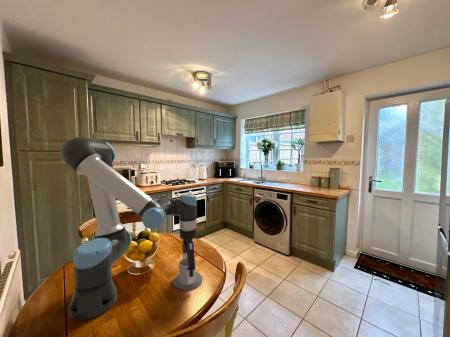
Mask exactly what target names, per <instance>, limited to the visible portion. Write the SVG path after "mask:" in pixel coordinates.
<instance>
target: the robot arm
mask: <svg viewBox="0 0 450 337" xmlns="http://www.w3.org/2000/svg"><path fill="white" fill-rule="evenodd" d="M60 158H61V159H62V161H63V162H64V163H65V164H66V166H68V167H69V168H70V169H71V170H73V172H75V173H77V174H78V175H81V176H82V175H85V177H87V181H88V186H89V191H90V195H91V200H92V205H93V210H94V216H95V220H96V225H97V230H96V231H95V233H94V235H95V238H93V239H91V240H87V241H85V242H83V243H82V244H80V245H79V246H78V247H77V248H75V251H74V253H73V260H72V263H73V277H74V278H73V280H74V281H73V282H74V291H73V294H72V296H71V300H70V303H69V306H68V317H69V318H70V319H72V320H73V321H88V320H91V319H94V318H96V317H98V316H101V315H102V314H104V313H106V312H107V311H109V310H110V309H111V308H112V307H113V306H114V305H115V304H116V302H117V300H118V291H117V287H116V286H115V284H114V281H113V278H112V277H113V276H112V273H113V270H112V267H113V265H115V263H116V262H117V261H119V260H120V258H121V257H122V256H124V255H125V254H126V253H127V252H128V250H129V249H130V247H131V246H130V244H131V245H132V243H133V242H132V241H133V237H132V234H131V233H130V231H129V230H127V229H126V227H125V224H124V223H121V219H120V215H119V214H120V213H119V211H118V210H119V209H118V204H117V200H118V201H119V202H120V203H122V204H123V205H125V206H126V207H127V208H129V209H130V210H131V211H133V213H135V214H136V215H138V216H139V217H140V218H141V222H142V224H143V226H144V227H146V228H147V229H148V230H149V229H150V230H154V229H157V228H160V226H162V225H163V224H164V223H165V222H166V220H167V219H168V218H169V217H176V216H177V217H179V238H180V239H181V240H182V244H181V245H182V246H181V247H182V248H181V249H182V259H185V258H187V261H188V268H187V270H188V284H191V283H194V270H195V271H196V258H195V244H194V241H193V239H195V238H196V237H197V223H198V222H199V221H198V220H197V213H198V211H197V210H198V209H197V208H198V207H197V205H198V204H197V196H196V194H194V193H183V194H180V195H179V198H161V197H160V198H154V199H153V198H152V197H150V195H148V194H147V193H145V192H144V191H142V190H141V189H140V188H139V187H138V186H136V185H134V183H132V182H131V181H129V179H127V178H125V177H124V176H123V175H121V174H120V173H119V172H117V171H116V170H115V169H114V164H113V163H114V160H115V159H116V151H115V148H114V147H113V146H112V145H111V144H110V143H109V142H106V141H104V140H101V139H94V138H89V137H88V138H87V137H83V136H75V137H71V138H68V139H67V140H66V141H64V143H63V144H61V147H60ZM129 246H130V247H129Z"/></svg>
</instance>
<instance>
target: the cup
mask: <svg viewBox="0 0 450 337" xmlns="http://www.w3.org/2000/svg"><path fill="white" fill-rule="evenodd" d="M178 265H179V266H178V275H179V282H180V284H181V285H182V286H190V285H192V284H193V283H191V284H188V270H187V268H188V261H187V258H185V259H183V258H182V259H181V260H180V261H179V263H178ZM195 272H196V269H195V270H194V282H195Z"/></svg>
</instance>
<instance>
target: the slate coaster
mask: <svg viewBox="0 0 450 337" xmlns="http://www.w3.org/2000/svg"><path fill="white" fill-rule="evenodd" d="M202 282H203V276H202V274H201V273H199V272H196V271H195V282H194V283H193V284H192V285H190V286H182V285H181V284H180V282H179V274H177V275H176V276H175V277H174V278H173V286H174V288H175V289H177V290H179V291H192V290H195V289H197V288H198V287H199V286H201V284H202Z"/></svg>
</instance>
